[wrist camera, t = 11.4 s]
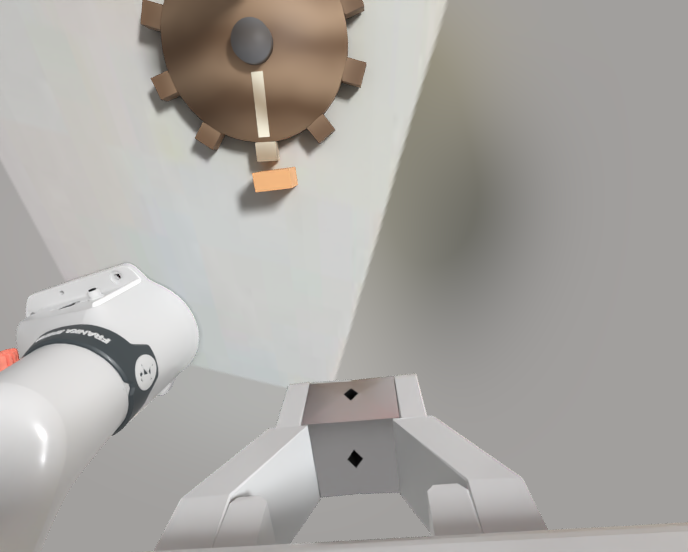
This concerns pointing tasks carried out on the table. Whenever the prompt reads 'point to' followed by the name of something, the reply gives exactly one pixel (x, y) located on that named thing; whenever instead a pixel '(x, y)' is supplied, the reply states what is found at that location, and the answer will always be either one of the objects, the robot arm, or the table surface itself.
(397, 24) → the table surface
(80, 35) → the table surface
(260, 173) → the orange wooden block
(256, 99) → the sprocket
